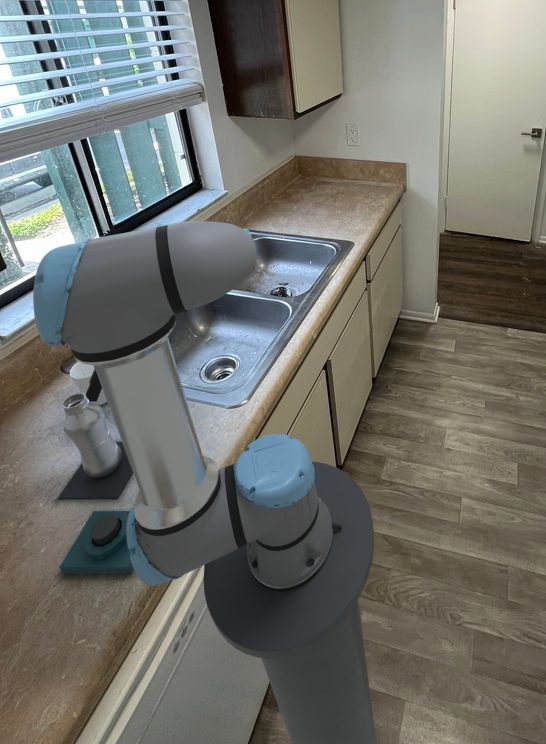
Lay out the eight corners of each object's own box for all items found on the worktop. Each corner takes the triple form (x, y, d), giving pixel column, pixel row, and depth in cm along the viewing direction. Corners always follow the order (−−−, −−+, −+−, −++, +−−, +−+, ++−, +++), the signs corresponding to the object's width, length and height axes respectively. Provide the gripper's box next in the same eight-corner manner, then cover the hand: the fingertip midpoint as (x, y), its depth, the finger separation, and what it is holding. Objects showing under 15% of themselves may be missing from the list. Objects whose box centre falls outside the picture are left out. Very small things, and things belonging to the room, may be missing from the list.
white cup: (75, 407, 106) (61, 377, 102) (100, 381, 113) (87, 352, 109) (105, 410, 105) (91, 380, 101) (127, 383, 112) (116, 354, 108)
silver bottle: (95, 456, 94) (62, 390, 85) (129, 450, 95) (100, 384, 86) (82, 486, 88) (44, 418, 80) (118, 478, 89) (85, 411, 81)
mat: (150, 442, 97) (150, 441, 97) (118, 498, 86) (117, 497, 86) (97, 443, 97) (96, 441, 97) (58, 499, 86) (57, 497, 86)
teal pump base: (159, 517, 83) (153, 504, 81) (132, 573, 75) (125, 561, 73) (97, 517, 83) (90, 505, 81) (63, 574, 75) (55, 561, 73)
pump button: (125, 520, 79) (122, 514, 78) (112, 545, 76) (108, 539, 75) (103, 521, 79) (100, 514, 78) (89, 546, 76) (85, 539, 75)
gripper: (208, 322, 97) (172, 425, 91) (125, 300, 105) (87, 393, 98) (184, 319, 90) (143, 430, 84) (98, 295, 98) (54, 395, 92)
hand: (112, 410), depth 91 cm, fingers open, 13 cm apart
